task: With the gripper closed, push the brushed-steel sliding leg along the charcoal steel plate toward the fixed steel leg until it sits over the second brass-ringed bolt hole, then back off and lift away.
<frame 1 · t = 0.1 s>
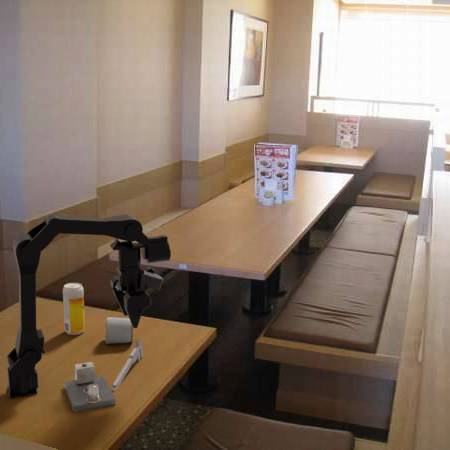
hand: (130, 321, 168), 15 cm above the table, tool pointing down, fingers open, 9 cm apart
beer can: (74, 332, 197), on the table
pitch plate: (89, 395, 159), on the table
sliding leg: (84, 372, 162), point 4 cm above the table, slide at 0.0 cm
ceramic mug: (118, 340, 192), on the table
caliper: (127, 374, 171), on the table
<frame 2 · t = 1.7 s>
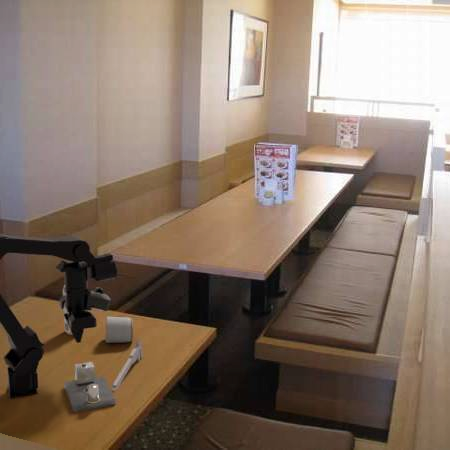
hand: (78, 342, 167), 9 cm above the table, tool pointing down, fingers closed
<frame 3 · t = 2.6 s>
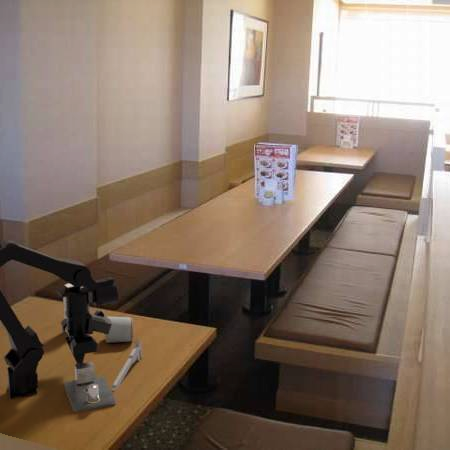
hand: (79, 365, 168), 3 cm above the table, tool pointing down, fingers closed
nothing on the table moved.
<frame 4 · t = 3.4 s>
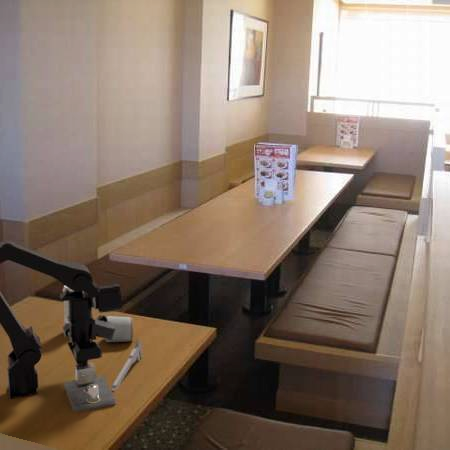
hand: (82, 371, 165), 3 cm above the table, tool pointing down, fingers closed
sliding leg: (85, 373, 162), point 4 cm above the table, slide at 0.5 cm, touching gripper
everything else where it was.
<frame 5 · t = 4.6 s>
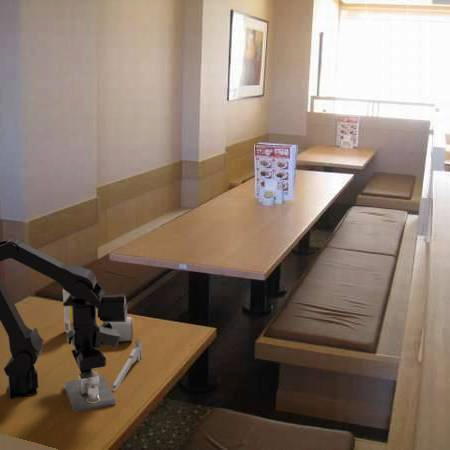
hand: (86, 379, 161), 3 cm above the table, tool pointing down, fingers closed
sliding leg: (89, 381, 157), point 4 cm above the table, slide at 5.5 cm, touching gripper
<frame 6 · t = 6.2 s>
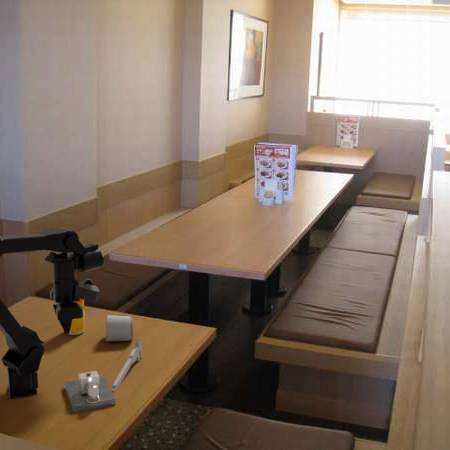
hand: (67, 333, 168), 11 cm above the table, tool pointing down, fingers closed
sliding leg: (89, 382, 157), point 4 cm above the table, slide at 5.5 cm
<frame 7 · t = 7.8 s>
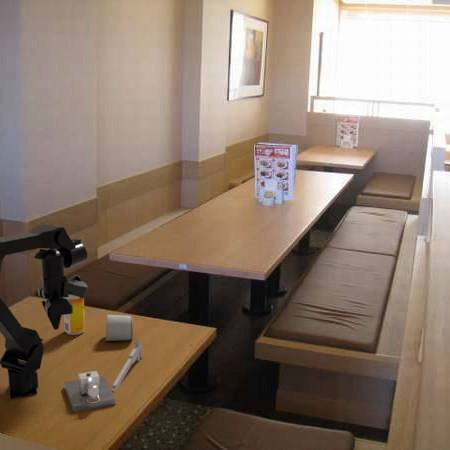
hand: (56, 329, 169), 12 cm above the table, tool pointing down, fingers closed
at the end: sliding leg slide at 5.5 cm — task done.
